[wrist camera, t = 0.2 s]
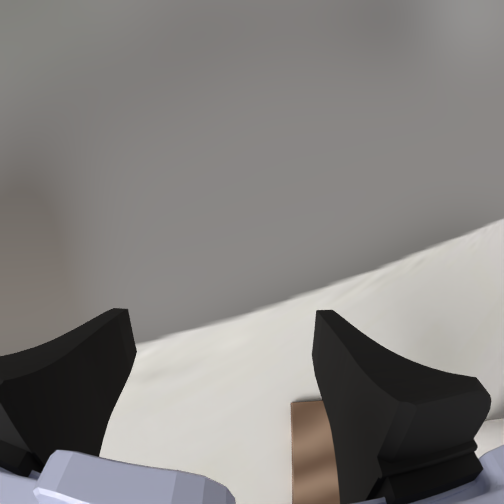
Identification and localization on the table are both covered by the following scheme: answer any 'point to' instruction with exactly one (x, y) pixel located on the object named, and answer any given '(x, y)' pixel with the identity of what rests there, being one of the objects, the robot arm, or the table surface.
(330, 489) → the cracker board
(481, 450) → the cylindrical container
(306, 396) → the table surface
